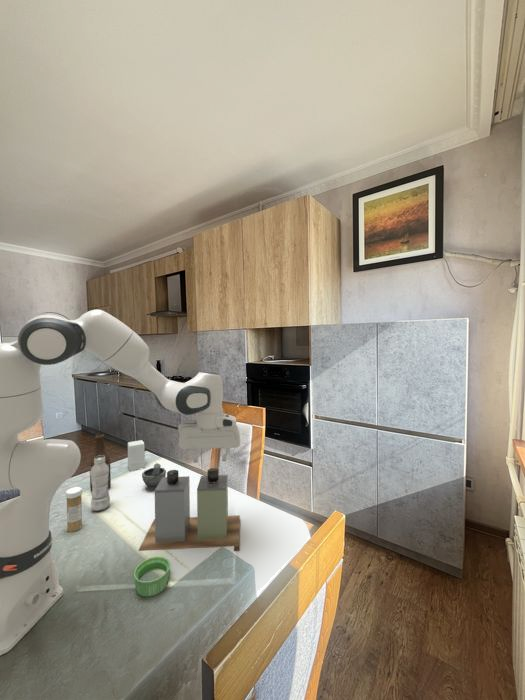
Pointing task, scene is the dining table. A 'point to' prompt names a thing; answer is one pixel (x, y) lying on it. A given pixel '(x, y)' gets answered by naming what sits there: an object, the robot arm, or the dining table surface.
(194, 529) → the walnut board
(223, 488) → the olive slotted block
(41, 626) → the dining table surface
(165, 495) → the grey block
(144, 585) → the ramekin
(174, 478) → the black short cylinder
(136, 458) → the supplement box
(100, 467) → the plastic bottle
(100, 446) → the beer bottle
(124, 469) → the dining table surface
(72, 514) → the sprinkles bottle
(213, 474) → the black plunger knob
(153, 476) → the mortar and pestle
